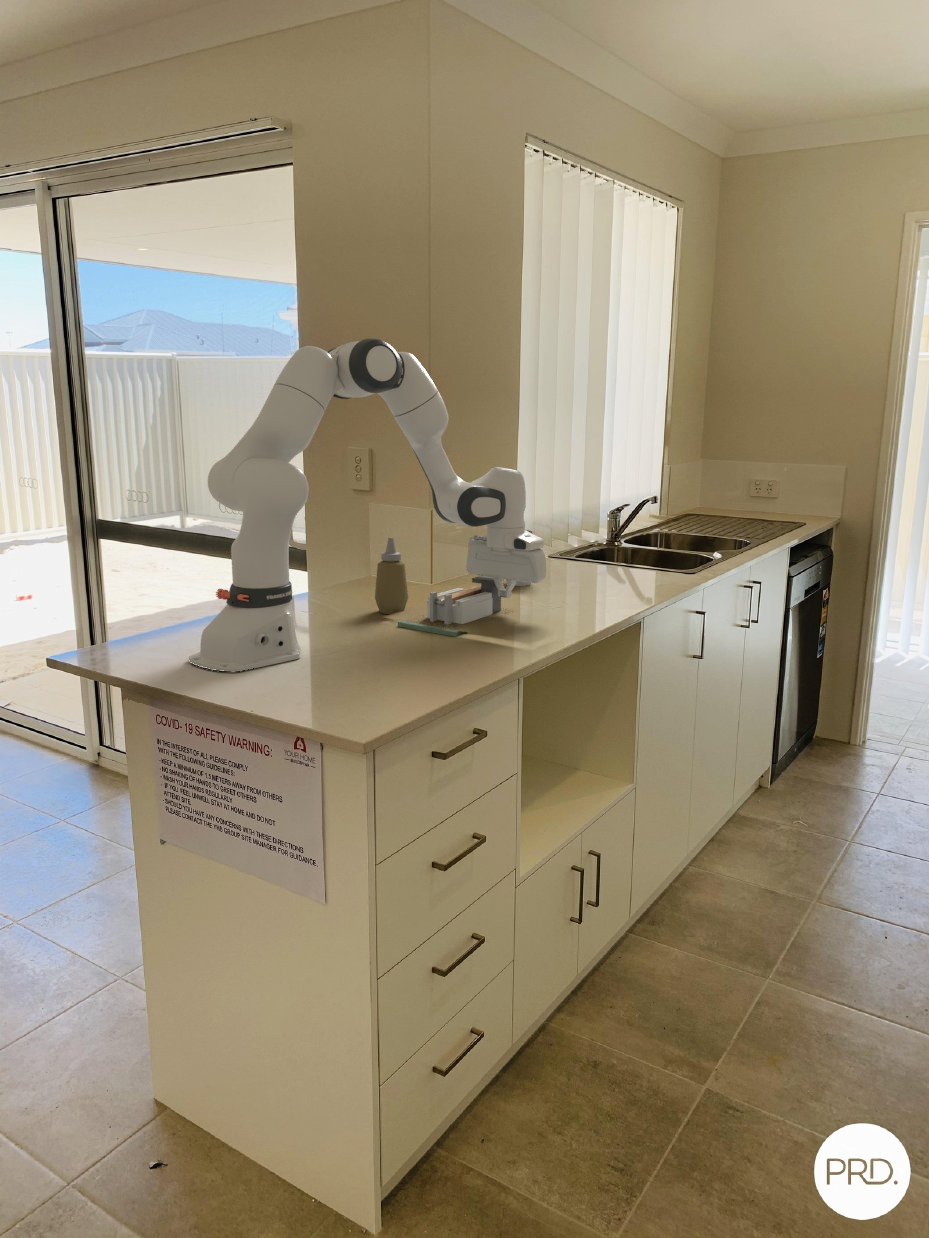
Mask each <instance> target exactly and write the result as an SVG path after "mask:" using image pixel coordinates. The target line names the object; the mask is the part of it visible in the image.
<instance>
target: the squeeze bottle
mask: <svg viewBox="0 0 929 1238" xmlns="http://www.w3.org/2000/svg"><path fill="white" fill-rule="evenodd" d="M394 539H395V538H394V537H388V538H387V543H386V548H385V551H383V552H381V553H380V554H381V555H380V557H381V558H380V559H381V561H379V562H378V563H377V568H376V581H375V592H374V593H375V594H374V599H375V603H376V605H377V608H378V610H379V613H381V614H383V615H384V614H385V615H392V614H393V615H394V614H396V613H401V612H403V611H405V609H406V605H407V603H408V600H409V591H408V583H407V574H406V573H407V572H406V566H405V562H403V561H402V556H401V555H402V554H401V552H399V551H397V549H396V545H395V544H396V543H395V540H394Z"/></svg>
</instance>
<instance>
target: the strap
mask: <svg viewBox="0 0 929 1238" xmlns="http://www.w3.org/2000/svg"><path fill="white" fill-rule="evenodd" d="M480 593H481V586H479V585H475V586H472V587H469V588H467V589H465V590H463V591H460V592H457V593H453V594H452V603H455V601H456V600H460V599H463V598H466V597H470V596H473V595H476V594H480ZM435 605H441V606H444V597H441V598H438V599H435Z"/></svg>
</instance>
